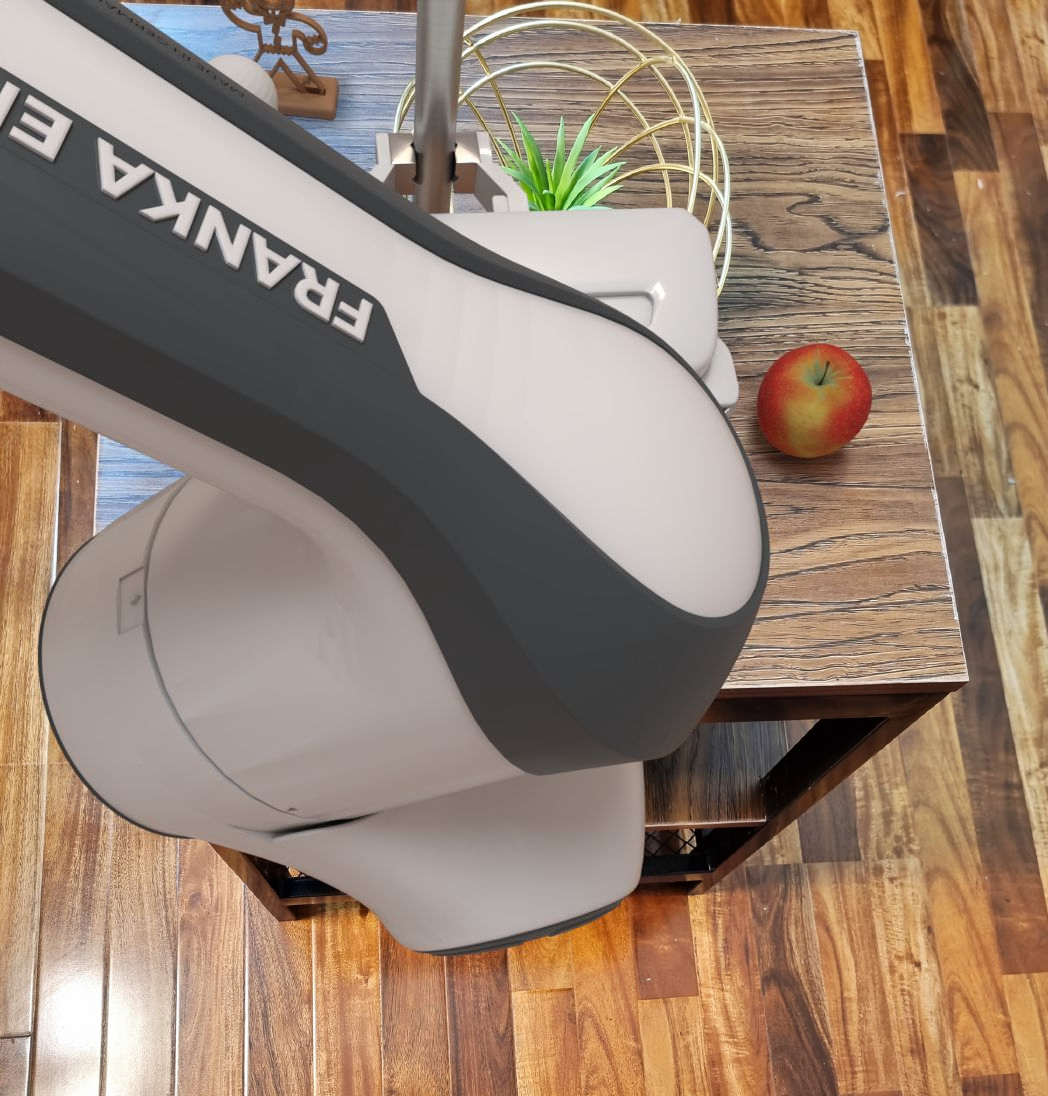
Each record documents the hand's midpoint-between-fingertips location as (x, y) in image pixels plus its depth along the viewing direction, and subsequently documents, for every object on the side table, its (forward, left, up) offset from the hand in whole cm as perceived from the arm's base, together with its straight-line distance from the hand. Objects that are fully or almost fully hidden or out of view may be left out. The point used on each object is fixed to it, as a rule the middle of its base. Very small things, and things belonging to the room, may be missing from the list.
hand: (430, 143), depth 41 cm
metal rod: (0, -1, -22) cm, 22 cm away
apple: (+30, -7, -38) cm, 49 cm away
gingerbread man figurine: (+8, +40, -38) cm, 56 cm away
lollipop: (+1, +30, -38) cm, 48 cm away
